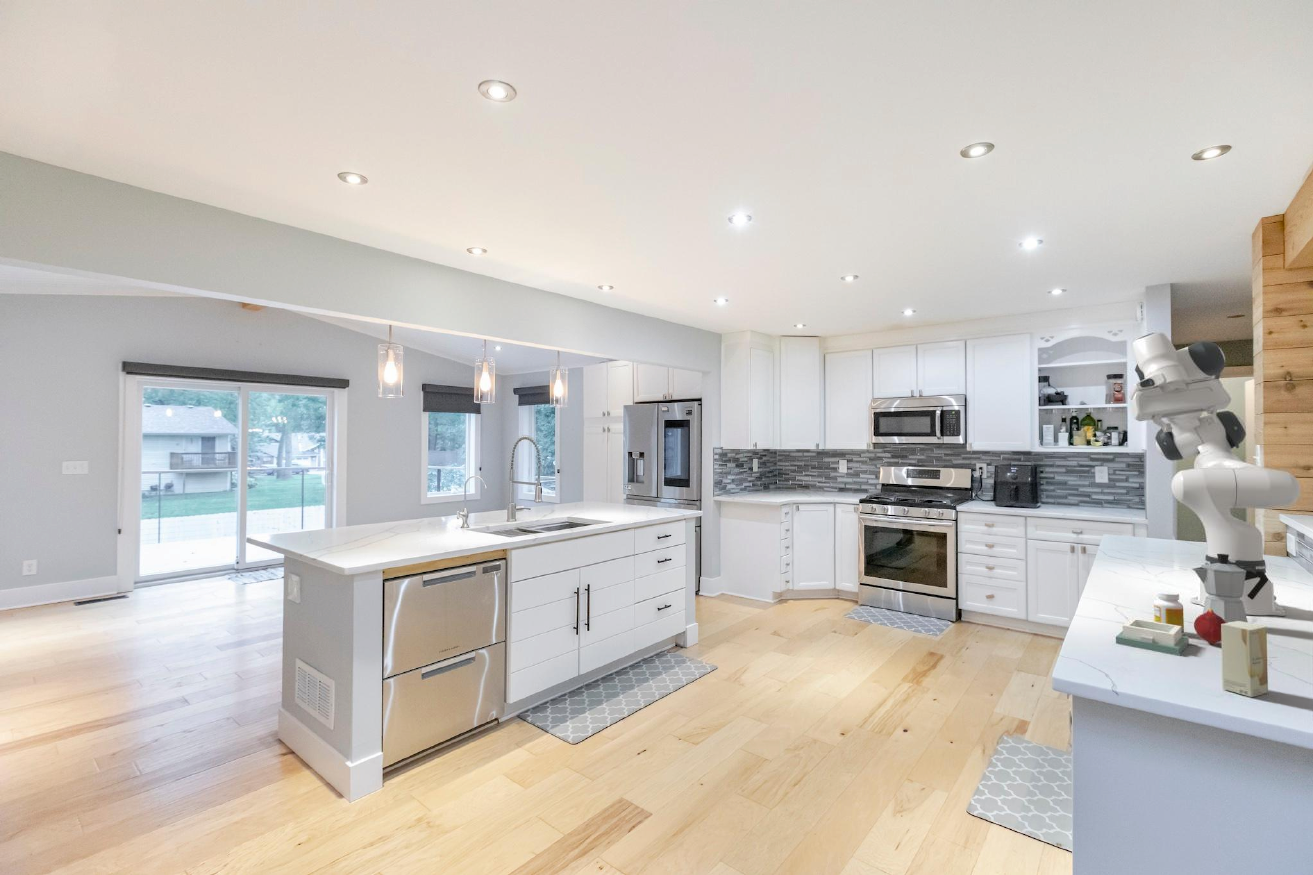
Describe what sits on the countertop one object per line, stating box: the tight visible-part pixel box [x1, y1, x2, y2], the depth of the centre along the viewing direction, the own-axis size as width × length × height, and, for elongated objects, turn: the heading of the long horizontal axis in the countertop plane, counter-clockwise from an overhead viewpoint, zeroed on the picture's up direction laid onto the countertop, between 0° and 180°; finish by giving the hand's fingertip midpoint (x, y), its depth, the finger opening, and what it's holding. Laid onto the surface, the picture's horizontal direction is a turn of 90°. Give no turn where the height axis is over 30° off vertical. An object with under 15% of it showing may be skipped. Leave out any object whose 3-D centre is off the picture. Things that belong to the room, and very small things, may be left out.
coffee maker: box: [1191, 554, 1270, 623], centre depth 148 cm, size 15×9×18 cm, turn 68°
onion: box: [1193, 608, 1226, 645], centre depth 135 cm, size 6×6×8 cm
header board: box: [1115, 617, 1190, 656], centre depth 136 cm, size 12×11×4 cm
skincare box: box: [1221, 621, 1269, 698], centre depth 109 cm, size 6×4×12 cm
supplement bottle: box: [1153, 590, 1185, 636], centre depth 143 cm, size 5×5×10 cm
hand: (1190, 427), depth 153 cm, fingers open, 8 cm apart
